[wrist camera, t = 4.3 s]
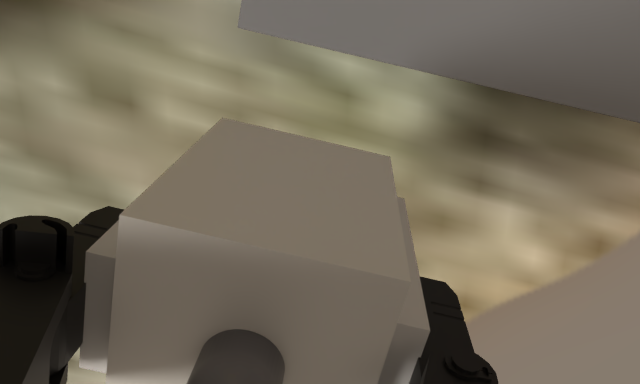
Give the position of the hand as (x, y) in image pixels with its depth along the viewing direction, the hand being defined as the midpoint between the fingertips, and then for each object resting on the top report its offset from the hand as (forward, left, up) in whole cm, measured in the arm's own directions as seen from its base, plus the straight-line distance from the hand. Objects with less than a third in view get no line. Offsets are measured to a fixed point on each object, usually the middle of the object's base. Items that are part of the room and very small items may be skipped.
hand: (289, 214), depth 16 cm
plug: (0, 0, -2) cm, 2 cm away
